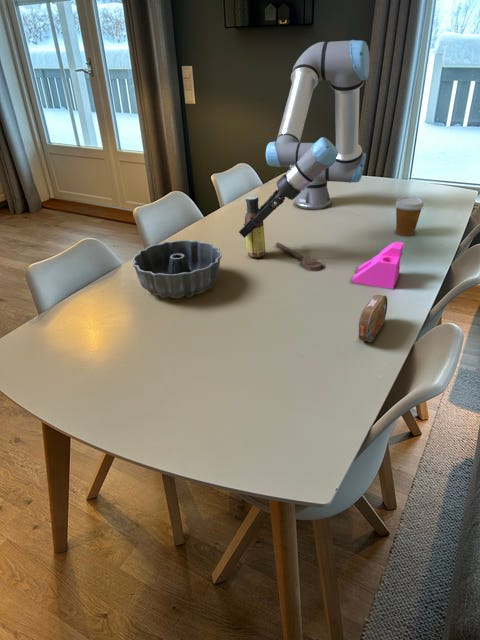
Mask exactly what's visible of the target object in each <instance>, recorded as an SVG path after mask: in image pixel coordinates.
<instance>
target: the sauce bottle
mask: <svg viewBox="0 0 480 640" xmlns="http://www.w3.org/2000/svg"><path fill="white" fill-rule="evenodd" d="M245 203H246V213H245V215H244V223H245V225H246V224H247V223H248V222H249V221H250V220H251V219H250V218H251V217H252V218H254V217H255V216H256V215H257V214H258V213H259V209H260V207H259V196H257V195H249V196H246V197H245ZM245 243H246V245H245V246H246V252H247V255H248V256H249V257H251V258H261V257H263V256H265V254H266V240H265V224H264V220H263V221H262V222H261V223H260V225H259V226H256V227H255V228H254V229H253V230H252V231H251V232H250V233H249V234H248V235H247V236H246V237H245Z"/></svg>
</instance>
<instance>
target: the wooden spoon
mask: <svg viewBox="0 0 480 640" xmlns="http://www.w3.org/2000/svg"><path fill="white" fill-rule="evenodd" d="M275 247H276V248H278V249H280V250H282V251H283V252H285V253H286V254H289V255H290V256H292V257H294V258H296V259H298V260H299V261H300V262H301V267H302V268H305V269H306V270H308V271H319V270H321V269H322V266H323V265H322V262H321V261H319V260H318V259H315V258H307V257H306V256H304V255H302V254H301V253H299V252H296V251H295V250H293V249H291V248H289V247H288V246H286V245H285V244H282V243H280V242H276V243H275Z"/></svg>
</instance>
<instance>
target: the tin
mask: <svg viewBox="0 0 480 640" xmlns="http://www.w3.org/2000/svg"><path fill="white" fill-rule="evenodd" d="M387 310H388V297H387V296H386V295H381V294H374V295H373V296H372V297H371V299H369V301H368V303H367V304H366V305H365V306H364V308H363V309H362V312H361V314H360V316H359V319H358V320H359V321H358V339H359V340H361V341H363V342H364V341H365V342H368V343H372V342H373V341H374V339H375V337H376V336H377V334H378V333H379V332H380V330H381V329H382V327H383V325H384V322H385V320H386V316H387V312H388V311H387Z"/></svg>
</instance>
